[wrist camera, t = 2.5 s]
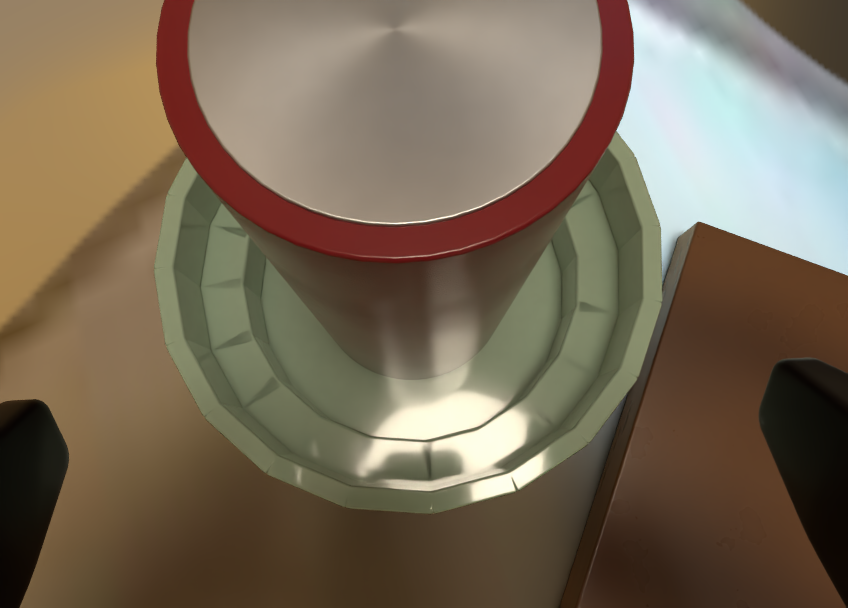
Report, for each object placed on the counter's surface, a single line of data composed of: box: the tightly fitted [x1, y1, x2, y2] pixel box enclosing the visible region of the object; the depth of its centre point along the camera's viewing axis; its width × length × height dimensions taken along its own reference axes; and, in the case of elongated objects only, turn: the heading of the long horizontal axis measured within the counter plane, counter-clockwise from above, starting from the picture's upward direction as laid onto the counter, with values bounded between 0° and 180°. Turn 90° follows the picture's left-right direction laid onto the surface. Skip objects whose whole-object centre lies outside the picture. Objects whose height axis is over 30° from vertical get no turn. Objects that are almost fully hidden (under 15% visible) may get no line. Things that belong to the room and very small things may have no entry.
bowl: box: [154, 131, 662, 514], centre depth 17 cm, size 13×13×4 cm
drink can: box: [156, 0, 634, 380], centre depth 13 cm, size 6×6×12 cm
